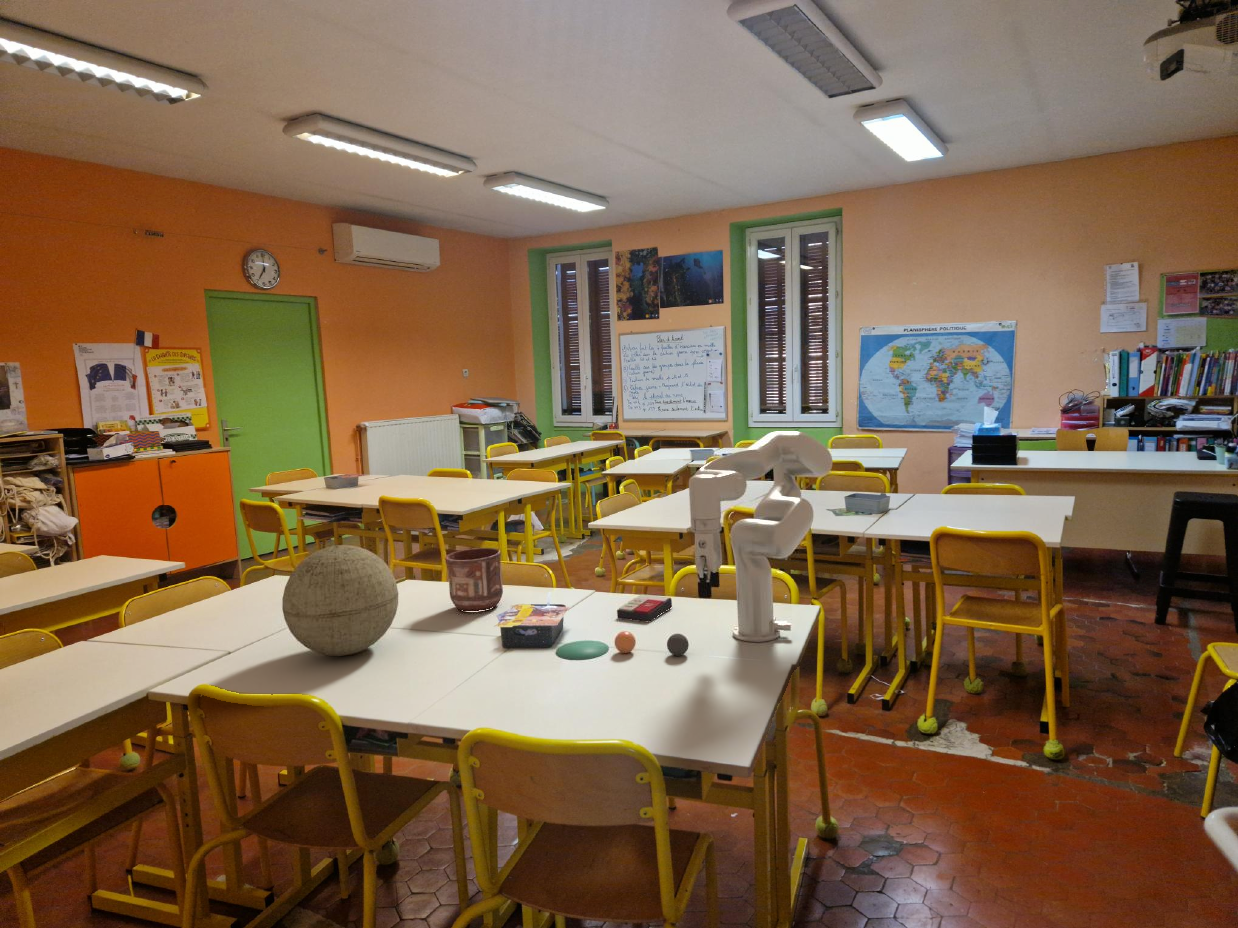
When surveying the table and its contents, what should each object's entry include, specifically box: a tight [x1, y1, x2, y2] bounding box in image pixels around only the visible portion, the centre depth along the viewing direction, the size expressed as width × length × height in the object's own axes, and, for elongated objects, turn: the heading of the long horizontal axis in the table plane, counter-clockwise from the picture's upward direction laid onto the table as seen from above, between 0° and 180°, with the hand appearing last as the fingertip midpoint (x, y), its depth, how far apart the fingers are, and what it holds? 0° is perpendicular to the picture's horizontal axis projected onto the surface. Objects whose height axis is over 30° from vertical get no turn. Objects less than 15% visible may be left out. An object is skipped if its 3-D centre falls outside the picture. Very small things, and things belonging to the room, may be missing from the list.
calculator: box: [616, 594, 673, 622], centre depth 229 cm, size 11×4×15 cm
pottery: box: [444, 547, 504, 611], centre depth 245 cm, size 18×18×18 cm
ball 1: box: [614, 630, 637, 654], centre depth 196 cm, size 6×6×6 cm
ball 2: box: [666, 633, 690, 657], centre depth 191 cm, size 6×6×6 cm
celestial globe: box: [281, 544, 399, 657], centre depth 207 cm, size 30×30×30 cm
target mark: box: [555, 640, 610, 661], centre depth 200 cm, size 14×14×1 cm
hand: (709, 592), depth 188 cm, fingers open, 9 cm apart
